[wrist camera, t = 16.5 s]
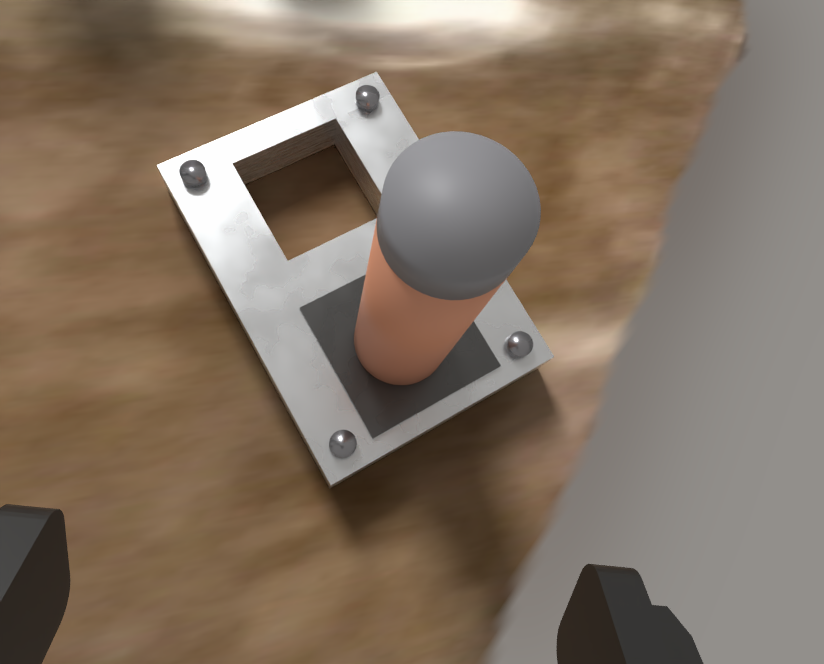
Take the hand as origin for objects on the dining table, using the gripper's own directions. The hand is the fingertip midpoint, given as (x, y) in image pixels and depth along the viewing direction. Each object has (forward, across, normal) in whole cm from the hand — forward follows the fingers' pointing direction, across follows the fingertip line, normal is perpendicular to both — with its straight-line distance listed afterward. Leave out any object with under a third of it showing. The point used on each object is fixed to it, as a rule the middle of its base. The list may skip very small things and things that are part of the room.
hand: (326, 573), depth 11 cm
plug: (+25, -3, +10) cm, 27 cm away
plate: (+30, 0, +10) cm, 32 cm away
